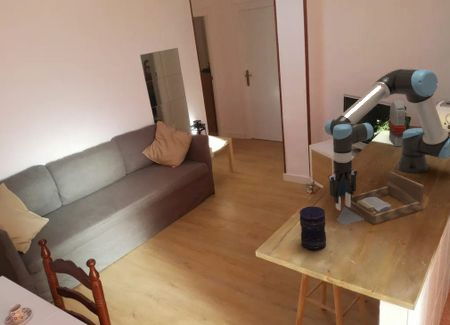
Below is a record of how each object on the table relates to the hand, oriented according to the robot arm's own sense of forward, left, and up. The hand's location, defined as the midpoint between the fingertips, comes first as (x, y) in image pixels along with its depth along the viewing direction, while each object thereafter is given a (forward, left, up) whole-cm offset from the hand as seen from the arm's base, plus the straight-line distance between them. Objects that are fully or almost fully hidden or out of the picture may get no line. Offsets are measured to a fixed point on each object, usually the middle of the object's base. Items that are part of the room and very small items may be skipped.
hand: (343, 207), depth 157 cm
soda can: (-12, -19, -4) cm, 23 cm away
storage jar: (+24, +14, -4) cm, 28 cm away
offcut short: (-9, +4, -1) cm, 10 cm away
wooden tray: (-19, +3, -4) cm, 20 cm away
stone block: (-21, +3, -3) cm, 21 cm away
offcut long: (-9, +4, -4) cm, 11 cm away
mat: (0, 0, -4) cm, 4 cm away
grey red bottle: (-89, -65, -4) cm, 110 cm away
